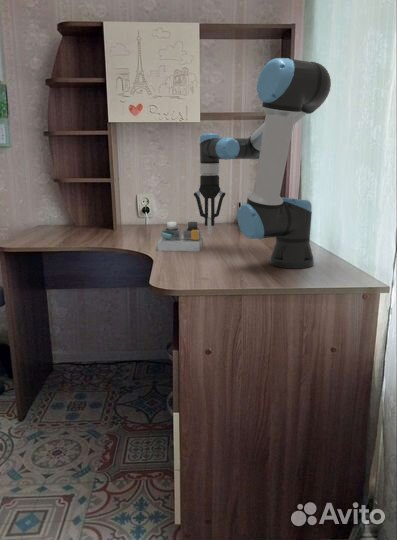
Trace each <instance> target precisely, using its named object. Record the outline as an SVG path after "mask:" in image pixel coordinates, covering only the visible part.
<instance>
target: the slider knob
mask: <svg viewBox="0 0 397 540" xmlns="http://www.w3.org/2000/svg"><path fill="white" fill-rule="evenodd" d="M191 239H194V240H199V230H192V231H191Z"/></svg>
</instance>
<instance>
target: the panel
mask: <svg viewBox="0 0 397 540" xmlns="http://www.w3.org/2000/svg"><path fill="white" fill-rule="evenodd" d="M197 230H199V240H194V239H191V231H192V230H188V227H186V228H184V230H183V234H182V227H177V229H176V230H168V229H167V227H165V228H164V229H162V233H166V234H171V235H172V237H171V239H170V238H166V237H160V239H159V238H158V240H157V251H159V252H160V251H161V252H164V251H165V252H200V250H201V249H202V247H203V245H204V235H203V228H201V227H199V228H198V227H197ZM162 233H161V234H162Z"/></svg>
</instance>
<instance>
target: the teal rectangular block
mask: <svg viewBox="0 0 397 540" xmlns="http://www.w3.org/2000/svg"><path fill="white" fill-rule="evenodd" d="M160 236H161V237H160V238H162V237H166V238H170V239H171V237H172V235H171V234H166V233H161V235H160Z"/></svg>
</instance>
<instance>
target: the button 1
mask: <svg viewBox="0 0 397 540" xmlns="http://www.w3.org/2000/svg"><path fill="white" fill-rule="evenodd" d="M166 225H167V226H166V228H167V229H168V230H176V229H177V228H178V227H177V221H171V220H170V221H167V222H166Z"/></svg>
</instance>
